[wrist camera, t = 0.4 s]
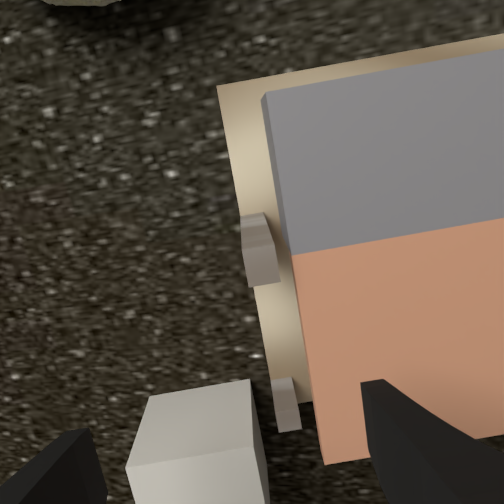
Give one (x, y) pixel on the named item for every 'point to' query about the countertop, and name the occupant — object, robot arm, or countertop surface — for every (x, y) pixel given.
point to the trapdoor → (396, 239)
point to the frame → (267, 216)
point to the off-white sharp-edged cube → (200, 448)
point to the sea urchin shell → (80, 2)
